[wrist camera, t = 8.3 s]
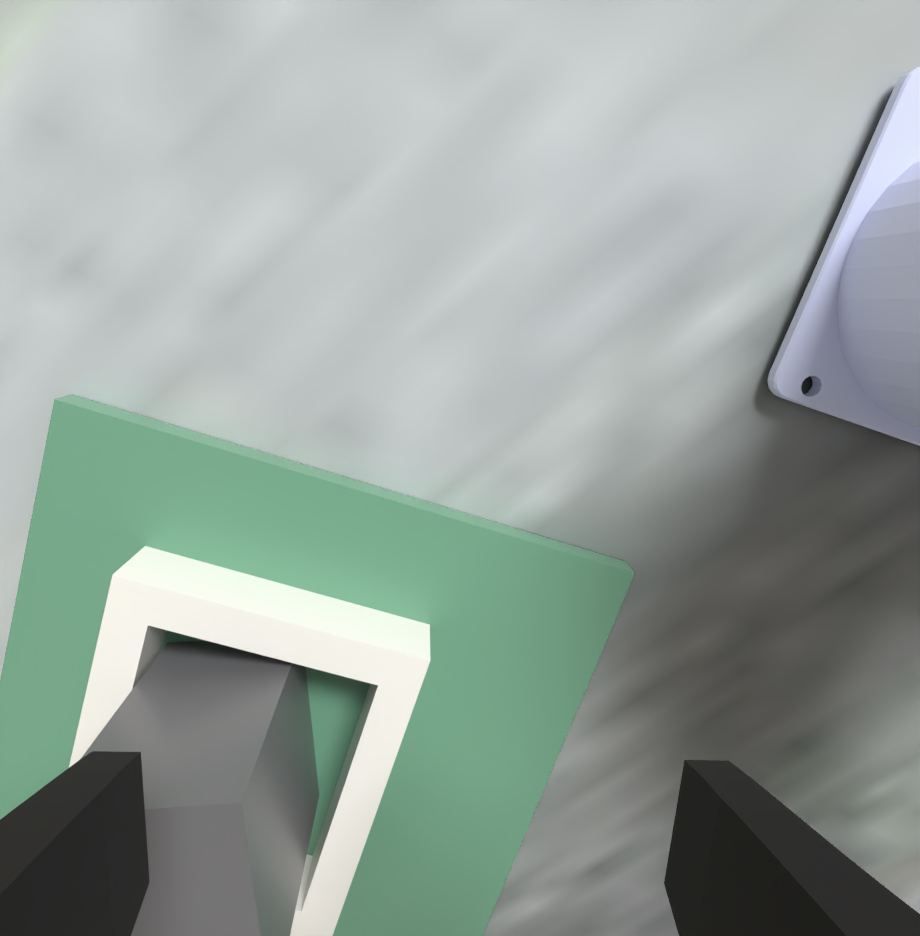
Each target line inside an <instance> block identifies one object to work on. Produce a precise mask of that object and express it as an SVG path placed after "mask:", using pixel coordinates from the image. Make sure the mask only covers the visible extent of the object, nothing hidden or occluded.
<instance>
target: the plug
mask: <svg viewBox="0 0 920 936" xmlns="http://www.w3.org/2000/svg"><path fill="white" fill-rule="evenodd" d="M92 751H110V752H141V761H142V776H143V791H144V806H145V821H146V836H147V851H148V865H149V880H150V882H149V885H148V888H147V891H146V894H145V897H144V900H143V902H142V905H141V908H140V911H139V914H138V917H137V920H136V923H135V925H134V928H133V931H132V934H131V936H290V933H291V928H292V923H293V918H294V914H295V909H296V904H297V899H298V894H299V890H300V885H301V880H302V875H303V871H304V866H305V861H306V856H307V851H308V847H309V842H310V837H311V832H312V828H313V823H314V818H315V813H316V808H317V804H318V799H319V786H318V777H317V768H316V758H315V749H314V740H313V730H312V721H311V712H310V702H309V693H308V684H307V674H306V666H302V665H298V664H294V663H290V662H286V661H283V660H279V659H275V658H271V657H267V656H263V655H260V654H256V653H252V652H248V651H244V650H240V649H237V648H233V647H229V646H225V645H221V644H217V643H214V642H210V641H206V640H205V641H188V642H171V643H167V644H166V645H165V646H164V648H163V649H162V651H161V652H160V653H159V655H158V656H157V657H156V659H155V660H154V661H153V663H152V664H151V665H150V667H149V668H148V669H147V671H146V672H145V673H144V675H143V676H142V677H141V679H140V680H139V681H138V683H137V684H136V685H135V687H134V688H133V689H132V691H131V692H130V693H129V695H128V696H127V697H126V699H125V700H124V701H123V703H122V704H121V705H120V707H119V708H118V709H117V711H116V712H115V713H114V715H113V716H112V717H111V719H110V720H109V721H108V723H107V724H106V725H105V727H104V728H103V730H102V731H101V732H100V734H99V735H98V736H97V738H96V739H95V740H94V742H93V743H92V744H91V746H90V747H89V748H88V750H87V751H86V752H85V754H84V755H83V756H82V758H83V757H85V756H86V755H88V754H89V753H90V752H92ZM82 758H81V759H82Z"/></svg>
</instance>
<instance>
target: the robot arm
mask: <svg viewBox="0 0 920 936" xmlns="http://www.w3.org/2000/svg"><path fill="white" fill-rule="evenodd" d="M809 376H810V377H811V379H812V381H813V384H812V388H811V389H810V390H809V392H807V393H805V394H803V393H802V390H801V386H802V382H803V381H804V380H805V378H807V377H809ZM768 386H769V389H770V390H771V392H772V393H773V394H774V395H776V396H778V397H780V398H783V399H786V400H789V401H792V402H794V403H797V404H800V405H803V406H806V407H809V408H812V409H815V410H817V411H820V412H823V413H826V414H829V415H832V416H835V417H838V418H840V419H843V420H846V421H849V422H852V423H855V424H858V425H861V426H863V427H866V428H869V429H872V430H875V431H878V432H881V433H884V434H886V435H889V436H892V437H895V438H898V439H901V440H904V441H907V442H909V443H912V444H915V445H918V446H920V67H917V68H915V69H913V70H911V71H909V72H907V73H906V74H904V75H903V76H902V77H900V79H899V80H898V82H897V83H896V85H895V87H894V89H893V91H892V94H891V96H890V98H889V100H888V103H887V105H886V107H885V110H884V112H883V114H882V116H881V119H880V121H879V123H878V126H877V128H876V130H875V132H874V135H873V137H872V139H871V141H870V144H869V146H868V148H867V151H866V153H865V155H864V157H863V160H862V162H861V164H860V167H859V169H858V171H857V173H856V176H855V178H854V180H853V183H852V185H851V187H850V189H849V192H848V194H847V196H846V199H845V201H844V203H843V205H842V208H841V210H840V212H839V215H838V217H837V219H836V221H835V224H834V226H833V228H832V231H831V233H830V235H829V237H828V240H827V242H826V244H825V247H824V249H823V251H822V253H821V256H820V258H819V260H818V263H817V265H816V267H815V269H814V272H813V274H812V276H811V279H810V281H809V283H808V285H807V288H806V290H805V292H804V294H803V297H802V299H801V301H800V304H799V306H798V308H797V310H796V313H795V315H794V317H793V320H792V322H791V324H790V326H789V329H788V331H787V333H786V336H785V338H784V340H783V342H782V345H781V347H780V349H779V352H778V354H777V356H776V358H775V361H774V363H773V365H772V368H771V370H770V372H769V376H768ZM149 882H150V880H149V865H148V851H147V836H146V821H145V806H144V791H143V776H142V761H141V752H110V751H92V752H90V753H89V754H88V755H86V756H85V757H83V758H82V759H80V760H79V761H78V762H76V763H75V764H73V765H72V766H71V767H69V768H68V769H67V770H65V771H64V772H63V773H61V774H60V775H59V776H57V777H56V778H55V779H53V780H52V781H51V782H49V783H48V784H47V785H45V786H44V787H43V788H41V789H40V790H39V791H37V792H36V793H35V794H33V795H32V796H31V797H29V798H28V799H27V800H25V801H24V802H23V803H21V804H20V805H19V806H17V807H16V808H15V809H14V810H12V811H11V812H10V813H8V814H7V815H6V816H4V817H3V818H2V819H0V936H131V934H132V931H133V928H134V925H135V923H136V920H137V917H138V914H139V911H140V908H141V905H142V902H143V900H144V897H145V894H146V891H147V888H148V885H149ZM664 884H665V888H666V891H667V895H668V898H669V902H670V905H671V909H672V912H673V916H674V919H675V923H676V926H677V930H678V933H679V936H920V914H919V913H917V912H916V911H915V910H914V909H912V908H911V907H910V906H908V905H907V904H906V903H905V902H903V901H902V900H901V899H899V898H898V897H897V896H895V895H894V894H893V893H892V892H890V891H889V890H888V889H887V888H885V887H884V886H883V885H882V884H880V883H879V882H878V881H876V880H875V879H874V878H873V877H871V876H870V875H869V874H868V873H866V872H865V871H864V870H863V869H861V868H860V867H859V866H858V865H857V864H855V863H854V862H853V861H852V860H850V859H849V858H848V857H847V856H845V855H844V854H843V853H842V852H840V851H839V850H838V849H837V848H836V847H834V846H833V845H832V844H831V843H829V842H828V841H827V840H826V839H824V838H823V837H822V836H821V835H820V834H818V833H817V832H816V831H815V830H814V829H812V828H811V827H810V826H809V825H808V824H806V823H805V822H804V821H803V820H801V819H800V818H799V817H798V816H797V815H795V814H794V813H793V812H792V811H791V810H789V809H788V808H787V807H786V806H784V805H783V804H782V803H781V802H780V801H778V800H777V799H776V798H775V797H774V796H772V795H771V794H770V793H769V792H767V791H766V790H765V789H764V788H763V787H761V786H760V785H759V784H758V783H756V782H755V781H754V780H753V779H751V778H750V777H749V776H748V775H746V774H745V773H744V772H742V771H741V770H740V769H738V768H737V767H736V766H734V765H733V764H732V763H730V762H729V761H708V760H685V761H684V767H683V773H682V779H681V785H680V791H679V797H678V803H677V809H676V815H675V821H674V827H673V833H672V839H671V845H670V851H669V857H668V863H667V869H666V876H665V882H664Z"/></svg>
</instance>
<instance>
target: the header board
mask: <svg viewBox="0 0 920 936" xmlns="http://www.w3.org/2000/svg"><path fill="white" fill-rule="evenodd" d="M634 575H635V572H634V571H633V570H632V568H631V567H630V566H629V565H628V563H627V562H626V561H623V560H619V559H616V558H613V557H609V556H606V555H603V554H599V553H596V552H593V551H590V550H586V549H583V548H580V547H576V546H573V545H570V544H566V543H563V542H560V541H556V540H553V539H550V538H546V537H543V536H540V535H536V534H533V533H530V532H527V531H523V530H520V529H517V528H513V527H510V526H507V525H503V524H500V523H497V522H493V521H490V520H487V519H483V518H480V517H477V516H473V515H470V514H467V513H463V512H460V511H457V510H454V509H450V508H447V507H444V506H440V505H437V504H434V503H430V502H427V501H424V500H420V499H417V498H414V497H410V496H407V495H404V494H400V493H397V492H394V491H390V490H387V489H384V488H381V487H377V486H374V485H371V484H367V483H364V482H361V481H357V480H354V479H351V478H347V477H344V476H341V475H337V474H334V473H331V472H327V471H324V470H321V469H317V468H314V467H311V466H308V465H304V464H301V463H298V462H294V461H291V460H288V459H284V458H281V457H278V456H274V455H271V454H268V453H264V452H261V451H258V450H254V449H251V448H248V447H244V446H241V445H238V444H235V443H231V442H228V441H225V440H221V439H218V438H215V437H211V436H208V435H205V434H201V433H198V432H195V431H191V430H188V429H185V428H181V427H178V426H175V425H171V424H168V423H165V422H162V421H158V420H155V419H152V418H148V417H145V416H142V415H138V414H135V413H132V412H128V411H125V410H122V409H118V408H115V407H112V406H108V405H105V404H102V403H99V402H95V401H92V400H89V399H85V398H82V397H79V396H75V395H68V396H65V397H61V398H57V399H54V405H53V410H52V415H51V420H50V425H49V431H48V436H47V441H46V446H45V451H44V457H43V462H42V467H41V472H40V477H39V483H38V488H37V493H36V498H35V503H34V509H33V514H32V519H31V524H30V529H29V535H28V540H27V545H26V550H25V555H24V560H23V566H22V571H21V576H20V581H19V586H18V592H17V597H16V602H15V607H14V612H13V618H12V623H11V628H10V633H9V638H8V644H7V649H6V654H5V659H4V664H3V670H2V675H1V680H0V819H2V818H3V817H4V816H6V815H7V814H8V813H10V812H11V811H12V810H14V809H15V808H16V807H17V806H19V805H20V804H21V803H23V802H24V801H25V800H27V799H28V798H29V797H31V796H32V795H33V794H35V793H36V792H37V791H39V790H40V789H41V788H43V787H44V786H45V785H47V784H48V783H49V782H51V781H52V780H53V779H55V778H56V777H57V776H59V775H60V774H61V773H63V772H64V771H65V770H67V769H68V768H69V767H71V766H72V765H73V764H75V763H76V762H78V761H79V760H80V759H81V758H82V756H83V755H84V754H85V752H86V751H87V750H88V748H89V747H90V746H91V744H92V743H93V742H94V740H95V739H96V738H97V736H98V735H99V734H100V732H101V731H102V730H103V728H104V727H105V725H106V724H107V723H108V721H109V720H110V719H111V717H112V716H113V715H114V713H115V712H116V711H117V709H118V708H119V707H120V705H121V704H122V703H123V701H124V700H125V699H126V697H127V696H128V695H129V693H130V692H131V691H132V689H133V688H134V687H135V685H136V684H137V683H138V681H139V680H140V679H141V677H142V676H143V675H144V673H145V672H146V671H147V669H148V668H149V667H150V665H151V664H152V663H153V661H154V660H155V659H156V657H157V656H158V655H159V653H160V652H161V651H162V649H163V648H164V646H165V645H166V644H167V643H171V642H188V641H205V640H206V641H210V642H214V643H217V644H221V645H225V646H229V647H233V648H237V649H240V650H244V651H248V652H252V653H256V654H260V655H263V656H267V657H271V658H275V659H279V660H283V661H286V662H290V663H294V664H298V665H302V666H306V674H307V684H308V693H309V702H310V712H311V721H312V730H313V740H314V749H315V758H316V768H317V777H318V786H319V799H318V804H317V808H316V813H315V818H314V823H313V828H312V832H311V837H310V842H309V847H308V851H307V856H306V861H305V866H304V871H303V875H302V880H301V885H300V890H299V894H298V899H297V904H296V909H295V914H294V918H293V923H292V928H291V933H290V936H483V933H484V931H485V929H486V926H487V924H488V922H489V919H490V917H491V914H492V912H493V910H494V907H495V905H496V903H497V900H498V898H499V895H500V893H501V891H502V888H503V886H504V884H505V881H506V879H507V876H508V874H509V872H510V869H511V867H512V865H513V862H514V860H515V857H516V855H517V853H518V850H519V848H520V846H521V843H522V841H523V838H524V836H525V834H526V831H527V829H528V827H529V824H530V822H531V819H532V817H533V815H534V812H535V810H536V808H537V805H538V803H539V800H540V798H541V796H542V793H543V791H544V788H545V786H546V784H547V781H548V779H549V777H550V774H551V772H552V769H553V767H554V765H555V762H556V760H557V758H558V755H559V753H560V750H561V748H562V746H563V743H564V741H565V739H566V736H567V734H568V731H569V729H570V727H571V724H572V722H573V720H574V717H575V715H576V712H577V710H578V708H579V705H580V703H581V701H582V698H583V696H584V693H585V691H586V689H587V686H588V684H589V682H590V679H591V677H592V674H593V672H594V670H595V667H596V665H597V662H598V660H599V658H600V655H601V653H602V651H603V648H604V646H605V643H606V641H607V639H608V636H609V634H610V632H611V629H612V627H613V624H614V622H615V620H616V617H617V615H618V613H619V610H620V608H621V605H622V603H623V601H624V598H625V596H626V594H627V591H628V589H629V586H630V584H631V582H632V579H633V577H634Z"/></svg>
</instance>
